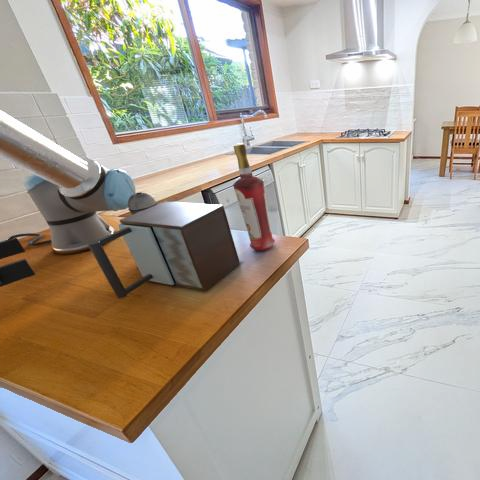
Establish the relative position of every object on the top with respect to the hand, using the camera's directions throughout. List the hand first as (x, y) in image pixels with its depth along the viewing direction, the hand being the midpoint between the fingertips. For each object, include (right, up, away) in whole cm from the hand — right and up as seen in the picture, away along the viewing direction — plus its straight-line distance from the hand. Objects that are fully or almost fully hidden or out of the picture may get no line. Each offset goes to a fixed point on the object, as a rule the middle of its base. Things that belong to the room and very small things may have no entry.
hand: (25, 254), depth 49 cm
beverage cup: (-5, +2, +41) cm, 41 cm away
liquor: (+31, 0, +33) cm, 45 cm away
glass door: (+9, -9, +16) cm, 20 cm away
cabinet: (+16, -5, +23) cm, 29 cm away
